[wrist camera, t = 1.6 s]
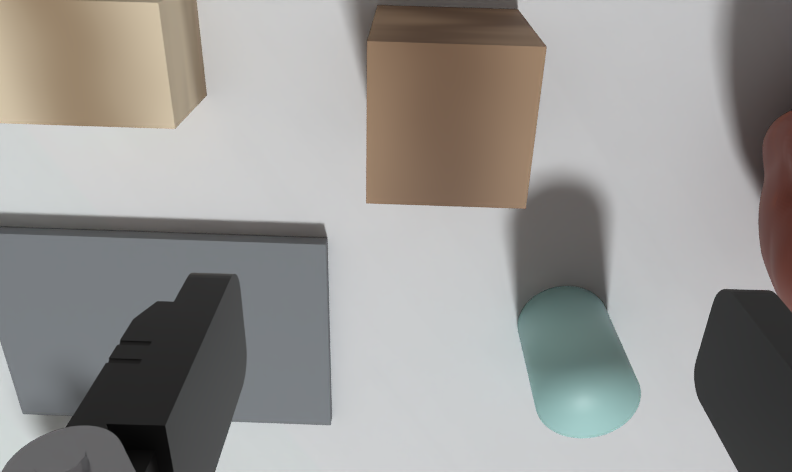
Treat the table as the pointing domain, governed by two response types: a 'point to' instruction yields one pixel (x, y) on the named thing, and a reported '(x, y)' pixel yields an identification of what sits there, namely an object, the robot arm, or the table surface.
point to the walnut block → (451, 106)
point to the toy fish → (777, 207)
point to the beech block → (100, 62)
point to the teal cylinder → (576, 363)
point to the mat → (161, 281)
